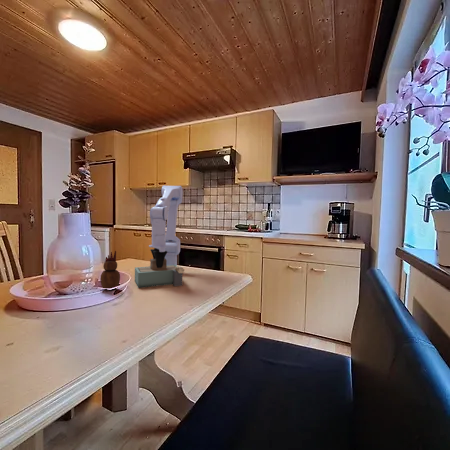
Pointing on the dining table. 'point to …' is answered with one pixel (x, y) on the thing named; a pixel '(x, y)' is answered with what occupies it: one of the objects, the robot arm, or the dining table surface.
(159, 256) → the robot arm
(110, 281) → the wooden figurine
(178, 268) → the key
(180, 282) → the green rectangular open box
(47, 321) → the dining table surface
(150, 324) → the dining table surface
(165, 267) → the lid
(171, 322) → the dining table surface
